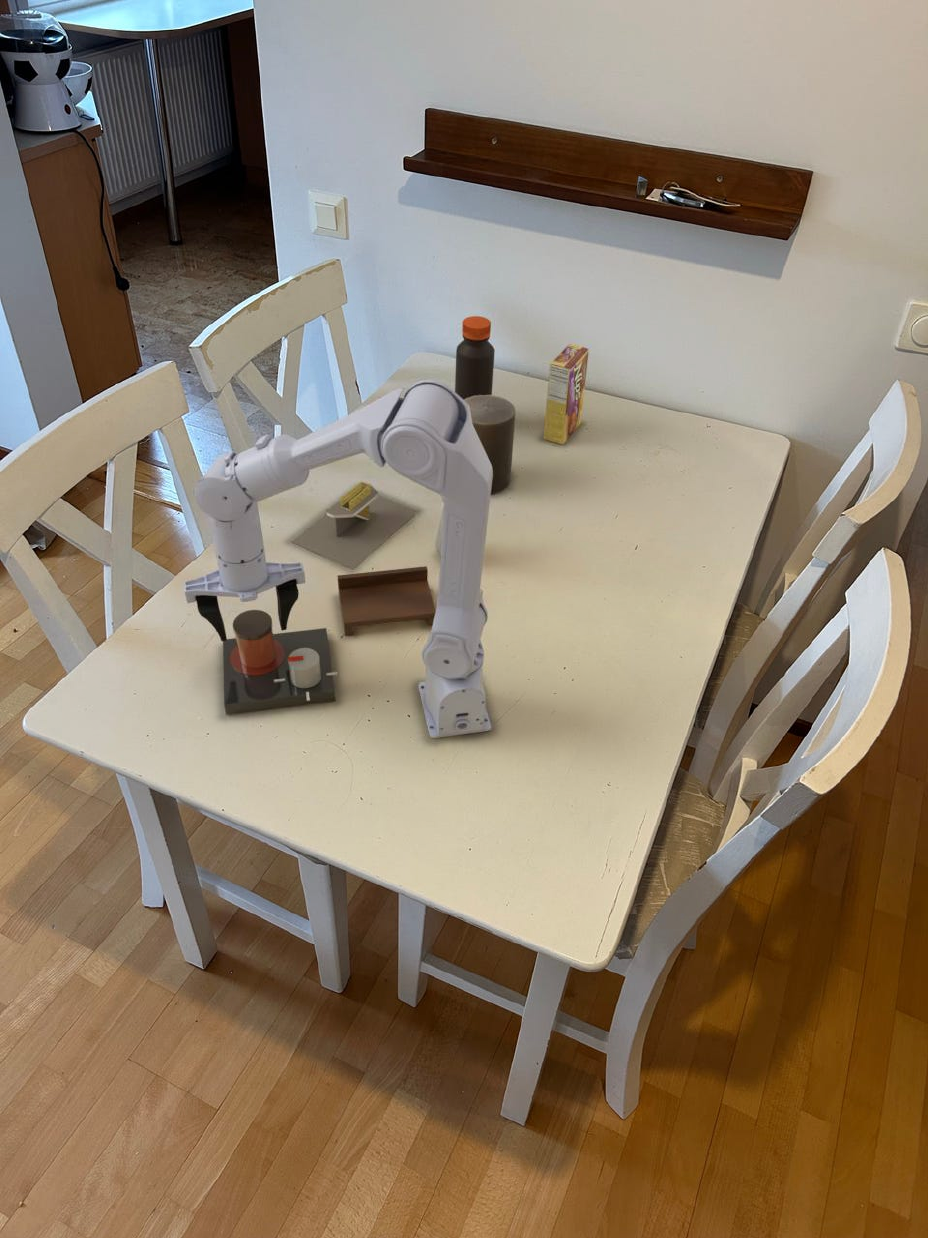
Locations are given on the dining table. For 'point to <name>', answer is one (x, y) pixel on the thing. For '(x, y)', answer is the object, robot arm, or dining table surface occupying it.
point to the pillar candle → (495, 434)
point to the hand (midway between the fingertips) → (253, 630)
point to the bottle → (474, 359)
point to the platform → (355, 526)
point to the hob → (278, 677)
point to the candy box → (565, 393)
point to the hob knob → (304, 668)
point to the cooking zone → (263, 670)
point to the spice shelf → (385, 597)
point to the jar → (254, 638)
